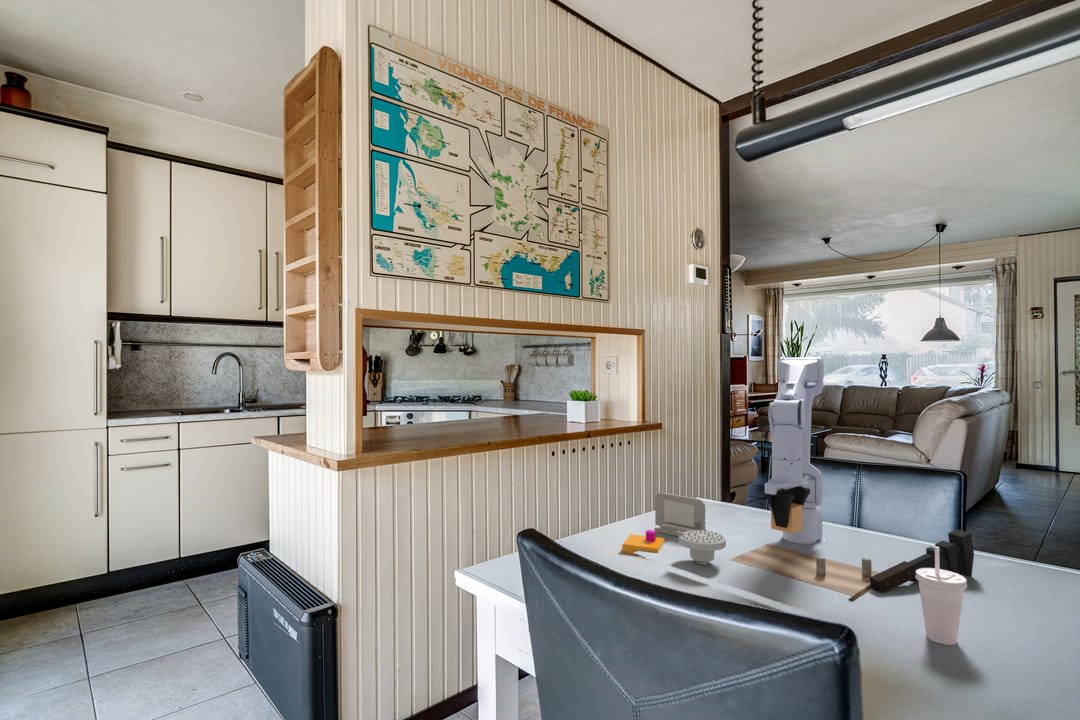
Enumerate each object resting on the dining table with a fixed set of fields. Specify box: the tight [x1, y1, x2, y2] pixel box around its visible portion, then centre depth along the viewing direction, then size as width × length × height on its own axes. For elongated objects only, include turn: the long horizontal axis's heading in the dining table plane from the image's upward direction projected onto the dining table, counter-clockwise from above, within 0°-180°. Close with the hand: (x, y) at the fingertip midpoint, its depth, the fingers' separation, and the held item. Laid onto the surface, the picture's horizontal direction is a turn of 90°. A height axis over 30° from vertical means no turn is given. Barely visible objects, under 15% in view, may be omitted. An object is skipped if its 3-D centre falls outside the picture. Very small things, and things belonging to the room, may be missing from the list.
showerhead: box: [676, 529, 727, 565], centre depth 114 cm, size 9×7×10 cm
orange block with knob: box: [621, 529, 666, 555], centre depth 126 cm, size 8×8×4 cm
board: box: [729, 543, 880, 602], centre depth 112 cm, size 16×24×4 cm, turn 40°
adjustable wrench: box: [870, 529, 975, 594], centre depth 106 cm, size 8×3×25 cm
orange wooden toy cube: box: [770, 503, 803, 533], centre depth 114 cm, size 4×4×5 cm
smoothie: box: [916, 546, 968, 646], centre depth 84 cm, size 6×6×14 cm
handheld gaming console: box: [653, 492, 707, 538], centre depth 138 cm, size 13×9×10 cm
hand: (787, 524), depth 114 cm, fingers closed on orange wooden toy cube, 4 cm apart
